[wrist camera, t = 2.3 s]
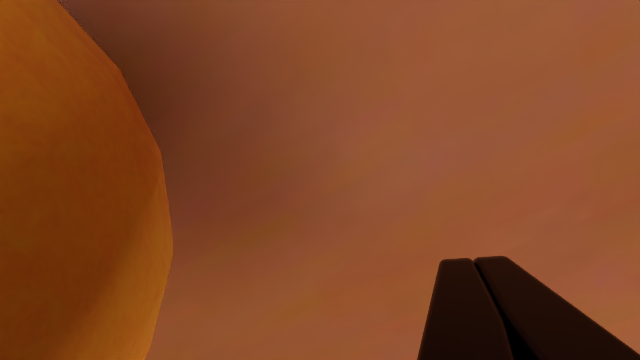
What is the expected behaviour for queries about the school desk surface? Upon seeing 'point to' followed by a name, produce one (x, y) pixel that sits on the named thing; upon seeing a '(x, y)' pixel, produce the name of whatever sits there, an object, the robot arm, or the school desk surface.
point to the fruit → (75, 197)
